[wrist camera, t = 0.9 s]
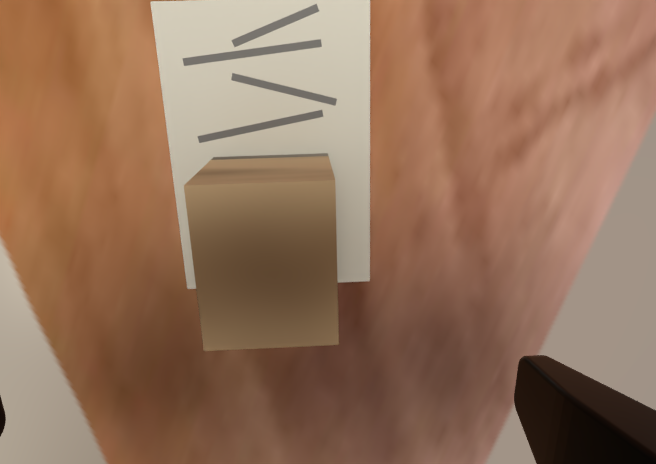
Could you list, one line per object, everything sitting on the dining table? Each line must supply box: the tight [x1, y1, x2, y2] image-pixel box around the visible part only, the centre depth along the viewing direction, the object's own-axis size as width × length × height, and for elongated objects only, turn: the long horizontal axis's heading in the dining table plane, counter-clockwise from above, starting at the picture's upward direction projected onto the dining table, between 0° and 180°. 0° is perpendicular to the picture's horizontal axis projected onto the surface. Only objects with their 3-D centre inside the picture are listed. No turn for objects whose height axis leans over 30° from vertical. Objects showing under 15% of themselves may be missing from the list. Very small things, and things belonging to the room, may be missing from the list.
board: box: [151, 0, 370, 289], centre depth 18 cm, size 10×7×1 cm
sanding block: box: [184, 153, 339, 351], centre depth 16 cm, size 5×4×4 cm
